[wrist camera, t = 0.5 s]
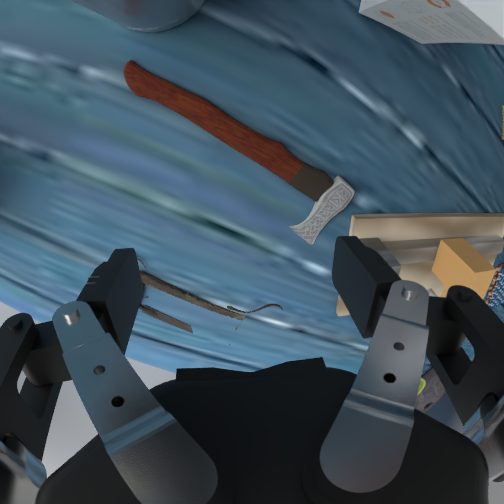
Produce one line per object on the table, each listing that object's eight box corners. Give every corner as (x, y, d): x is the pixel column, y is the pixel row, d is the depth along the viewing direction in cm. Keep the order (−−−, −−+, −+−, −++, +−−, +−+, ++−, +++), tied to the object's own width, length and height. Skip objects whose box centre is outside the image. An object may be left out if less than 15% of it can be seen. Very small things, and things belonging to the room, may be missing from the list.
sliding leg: (436, 235, 32) (474, 273, 25) (458, 234, 32) (496, 269, 26) (417, 295, 37) (446, 336, 30) (438, 291, 37) (467, 329, 30)
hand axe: (86, 145, 25) (129, 53, 21) (94, 140, 27) (135, 53, 22) (307, 264, 35) (366, 200, 30) (305, 255, 36) (361, 192, 32)
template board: (351, 214, 32) (379, 246, 27) (504, 213, 35) (533, 235, 29) (335, 310, 40) (352, 348, 34) (478, 286, 42) (500, 312, 36)
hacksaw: (87, 281, 34) (83, 288, 33) (116, 216, 30) (112, 222, 29) (245, 353, 43) (246, 361, 42) (290, 308, 39) (293, 316, 38)
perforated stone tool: (441, 350, 50) (457, 376, 44) (454, 352, 52) (468, 376, 46) (397, 395, 57) (407, 420, 51) (411, 395, 59) (421, 418, 53)
